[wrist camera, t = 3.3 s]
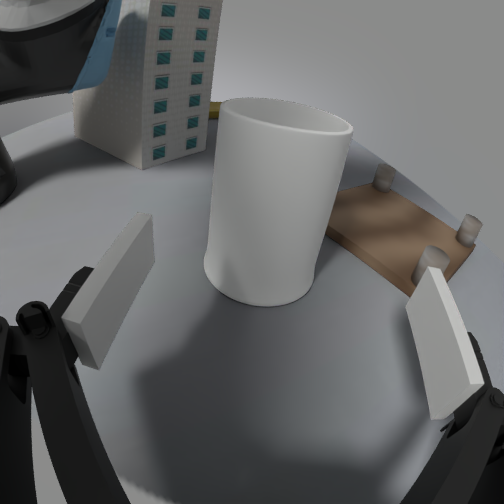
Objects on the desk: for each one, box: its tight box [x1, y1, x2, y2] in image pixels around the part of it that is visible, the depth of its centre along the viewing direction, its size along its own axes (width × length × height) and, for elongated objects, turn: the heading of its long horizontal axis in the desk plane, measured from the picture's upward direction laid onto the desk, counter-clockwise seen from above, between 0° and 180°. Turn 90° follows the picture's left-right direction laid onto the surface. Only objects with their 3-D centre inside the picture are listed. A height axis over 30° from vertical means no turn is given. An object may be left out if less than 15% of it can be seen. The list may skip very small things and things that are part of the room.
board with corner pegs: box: [325, 164, 482, 298], centre depth 31 cm, size 16×16×4 cm
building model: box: [73, 0, 223, 170], centre depth 37 cm, size 20×16×30 cm
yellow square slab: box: [209, 102, 222, 118], centre depth 61 cm, size 9×9×2 cm
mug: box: [204, 98, 353, 307], centre depth 22 cm, size 12×8×12 cm
